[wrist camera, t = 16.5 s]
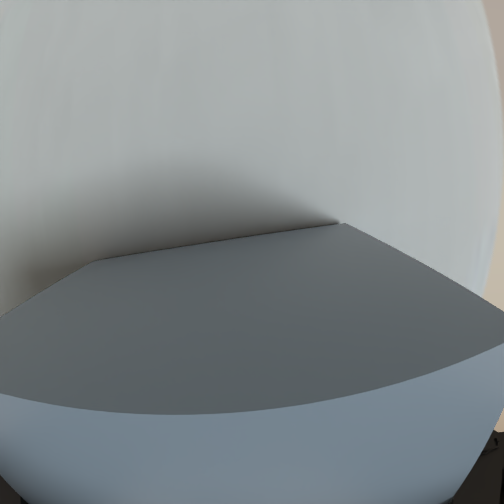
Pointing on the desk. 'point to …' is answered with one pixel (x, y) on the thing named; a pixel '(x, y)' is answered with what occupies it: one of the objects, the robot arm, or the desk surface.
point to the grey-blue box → (250, 377)
